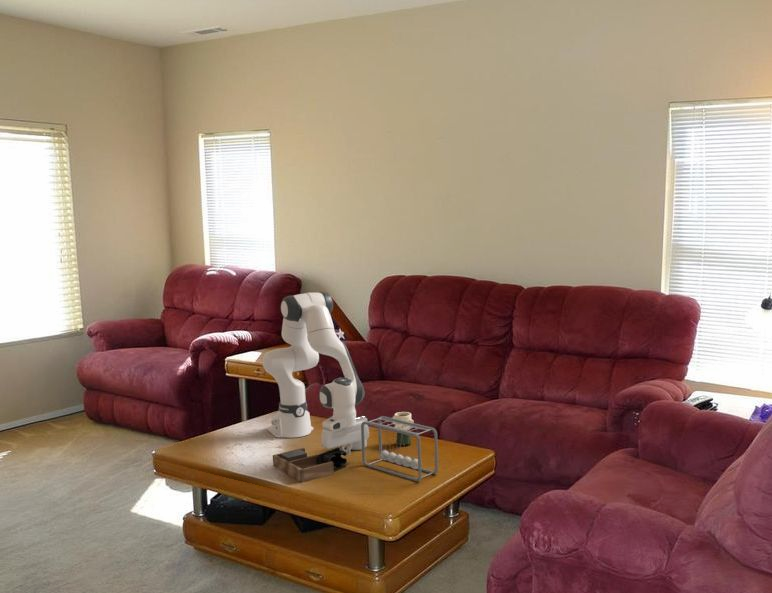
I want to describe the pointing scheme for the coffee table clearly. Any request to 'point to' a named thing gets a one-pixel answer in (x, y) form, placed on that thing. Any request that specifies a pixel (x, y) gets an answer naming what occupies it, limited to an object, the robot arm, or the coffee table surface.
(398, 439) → the character mug
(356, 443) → the can
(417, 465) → the newton's cradle
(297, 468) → the walnut organizer
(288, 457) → the block
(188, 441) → the coffee table surface
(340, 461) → the end cap
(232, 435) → the coffee table surface
